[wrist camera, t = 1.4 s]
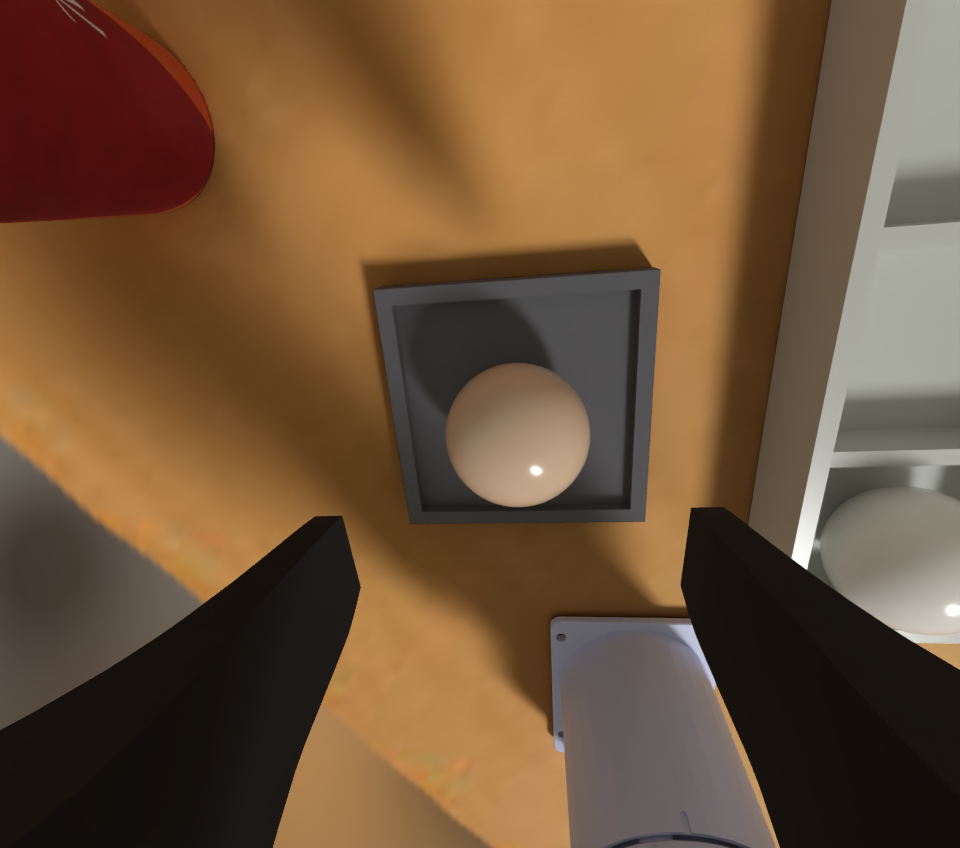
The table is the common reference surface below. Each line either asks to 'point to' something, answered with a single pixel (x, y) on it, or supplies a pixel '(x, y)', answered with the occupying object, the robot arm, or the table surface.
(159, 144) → the paper cup
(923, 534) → the white egg
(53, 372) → the table surface
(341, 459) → the table surface
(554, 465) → the beige ball
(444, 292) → the coaster
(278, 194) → the table surface
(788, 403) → the tray
